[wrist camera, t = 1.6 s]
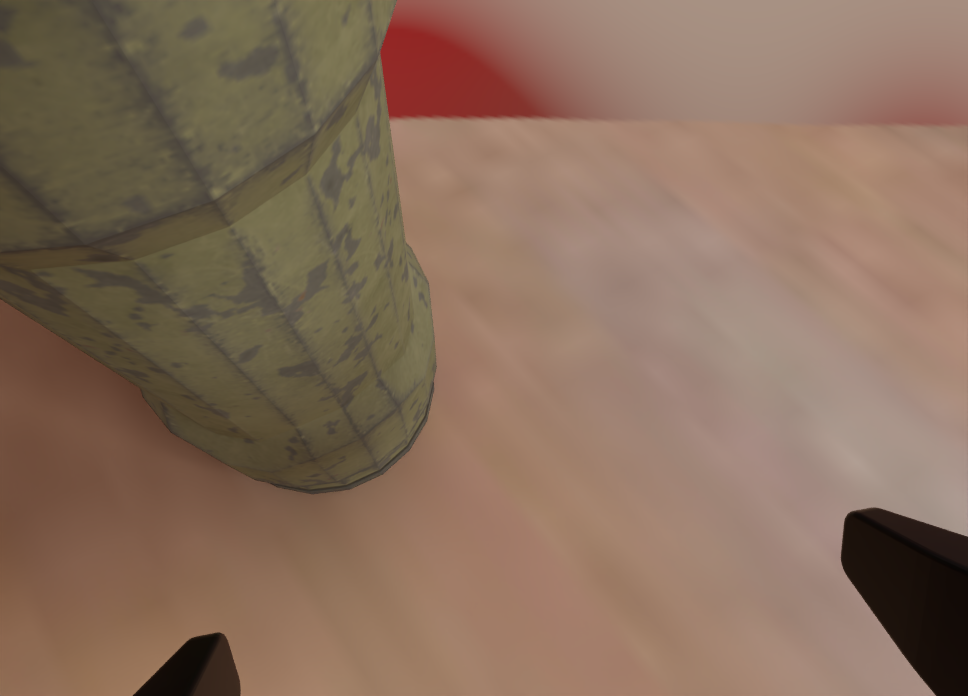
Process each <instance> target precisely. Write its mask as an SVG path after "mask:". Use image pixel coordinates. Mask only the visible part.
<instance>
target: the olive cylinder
mask: <svg viewBox="0 0 968 696" xmlns="http://www.w3.org/2000/svg"><path fill="white" fill-rule="evenodd" d="M396 2H397V0H0V299H1V300H3V301H4V302H6V303H8V304H9V305H11V306H12V307H14V308H15V309H17V310H19V311H20V312H22V313H23V314H25V315H26V316H28V317H30V318H31V319H33V320H34V321H36V322H37V323H39V324H41V325H42V326H44V327H45V328H47V329H48V330H50V331H51V332H53V333H55V334H56V335H58V336H59V337H61V338H62V339H64V340H66V341H67V342H69V343H70V344H72V345H73V346H75V347H77V348H78V349H80V350H81V351H83V352H84V353H86V354H87V355H89V356H91V357H92V358H94V359H95V360H97V361H98V362H100V363H102V364H103V365H105V366H106V367H108V368H109V369H111V370H113V371H114V372H116V373H117V374H119V375H120V376H122V377H123V378H125V379H127V380H128V381H130V382H131V383H133V384H134V385H136V386H138V387H139V388H140V389H141V392H142V396H143V398H144V399H145V400H146V402H147V403H148V404H149V405H150V407H151V408H152V409H153V410H154V412H155V413H156V414H157V415H158V417H159V418H160V419H161V420H162V422H163V423H164V424H165V425H166V427H167V428H168V429H169V431H170V432H171V433H173V434H175V435H176V436H178V437H180V438H182V439H183V440H185V441H187V442H189V443H190V444H192V445H194V446H195V447H197V448H199V449H201V450H202V451H204V452H206V453H208V454H209V455H211V456H213V457H215V458H216V459H218V460H220V461H221V462H223V463H225V464H227V465H229V466H230V467H232V468H234V469H236V470H238V471H240V472H241V473H243V474H245V475H247V476H249V477H251V478H252V479H254V480H258V481H263V482H268V483H271V484H273V485H275V486H277V487H279V488H284V489H289V490H294V491H299V492H305V493H310V494H318V493H326V492H334V491H342V490H349V489H352V488H354V487H356V486H358V485H360V484H362V483H365V482H367V481H369V480H371V479H373V478H376V477H378V476H380V475H382V474H384V473H385V472H386V471H387V470H388V469H389V468H390V467H391V466H392V465H394V464H395V463H396V462H397V461H398V460H399V459H400V458H401V457H403V456H404V455H405V454H406V453H407V452H408V451H409V450H410V449H411V447H412V445H413V443H414V442H415V440H416V438H417V437H418V435H419V433H420V432H421V430H422V428H423V427H424V425H425V423H426V422H427V419H428V414H429V410H430V405H431V401H432V396H433V392H434V382H433V381H434V376H435V372H436V367H437V366H436V353H435V339H434V329H433V319H432V309H431V300H430V290H429V283H428V281H427V279H426V277H425V275H424V273H423V271H422V269H421V267H420V264H419V262H418V260H417V258H416V256H415V254H414V252H413V250H412V248H411V247H410V246H409V245H408V244H407V243H406V241H405V233H404V226H403V219H402V211H401V204H400V197H399V189H398V182H397V174H396V167H395V160H394V152H393V145H392V137H391V130H390V123H389V115H388V108H387V101H386V93H385V86H384V78H383V71H382V64H381V57H380V50H381V47H382V44H383V41H384V38H385V35H386V32H387V29H388V25H389V23H390V20H391V17H392V14H393V10H394V7H395V5H396Z"/></svg>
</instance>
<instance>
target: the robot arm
mask: <svg viewBox="0 0 968 696" xmlns="http://www.w3.org/2000/svg"><path fill="white" fill-rule="evenodd" d="M841 562H842V566H843V569H844V571H845V573H846V575H847V577H848V578H849V579H850V581H851V582H852V584H853V585H854V586H855V588H856V589H857V591H858V592H859V593H860V595H861V596H862V598H863V599H864V600H865V602H866V603H867V605H868V606H869V607H870V609H871V610H872V612H873V613H874V614H875V616H876V617H877V619H878V620H879V621H880V623H881V624H882V626H883V627H884V628H885V630H886V631H887V633H888V634H889V635H890V637H891V638H892V640H893V641H894V642H895V644H896V645H897V647H898V648H899V649H900V651H901V652H902V654H903V655H904V656H905V658H906V659H907V660H908V662H909V663H910V664H911V666H912V667H913V668H914V670H915V671H916V672H917V673H918V674H919V676H920V677H921V678H922V679H923V681H924V682H925V683H926V684H927V685H928V687H929V688H930V689H931V690H932V691H933V693H934V694H935V695H936V696H968V537H967V536H964V535H961V534H958V533H954V532H951V531H948V530H945V529H942V528H939V527H936V526H933V525H930V524H927V523H924V522H920V521H917V520H914V519H911V518H908V517H905V516H902V515H899V514H896V513H893V512H890V511H886V510H883V509H880V508H867V509H861V510H856V511H852V512H850V513H848V514H847V516H846V518H845V521H844V530H843V540H842V550H841ZM240 691H241V690H240V680H239V676H238V673H237V669H236V666H235V663H234V660H233V656H232V653H231V650H230V646H229V643H228V640H227V638H226V637H225V635H224V634H222V633H212V634H207V635H202V636H197V637H193V638H191V639H189V640H188V641H187V642H186V643H185V644H184V645H183V646H182V647H181V648H180V649H179V650H178V651H177V652H176V653H175V654H174V655H173V656H172V657H171V658H170V659H169V660H168V661H167V662H166V663H165V664H164V665H163V666H162V667H161V668H160V669H159V670H158V671H157V672H156V673H155V674H154V675H153V676H152V677H151V678H150V679H149V680H148V681H147V682H146V683H145V684H144V685H143V686H142V687H141V688H140V689H139V690H138V691H137V692H136V693H135V694H134V695H133V696H240Z"/></svg>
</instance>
